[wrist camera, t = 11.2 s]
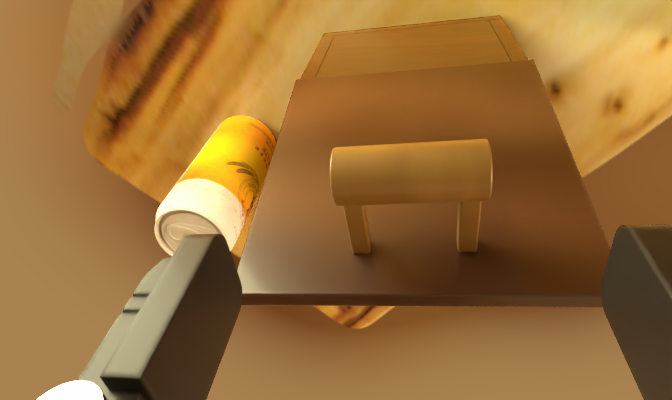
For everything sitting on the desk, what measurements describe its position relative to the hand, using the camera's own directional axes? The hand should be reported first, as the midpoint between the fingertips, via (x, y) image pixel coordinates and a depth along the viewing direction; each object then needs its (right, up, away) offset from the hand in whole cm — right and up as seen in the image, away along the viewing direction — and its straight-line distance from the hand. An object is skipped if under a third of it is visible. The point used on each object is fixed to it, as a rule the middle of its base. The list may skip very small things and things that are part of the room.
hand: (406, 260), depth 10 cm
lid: (+2, +3, +13) cm, 13 cm away
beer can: (-10, +7, +35) cm, 38 cm away
